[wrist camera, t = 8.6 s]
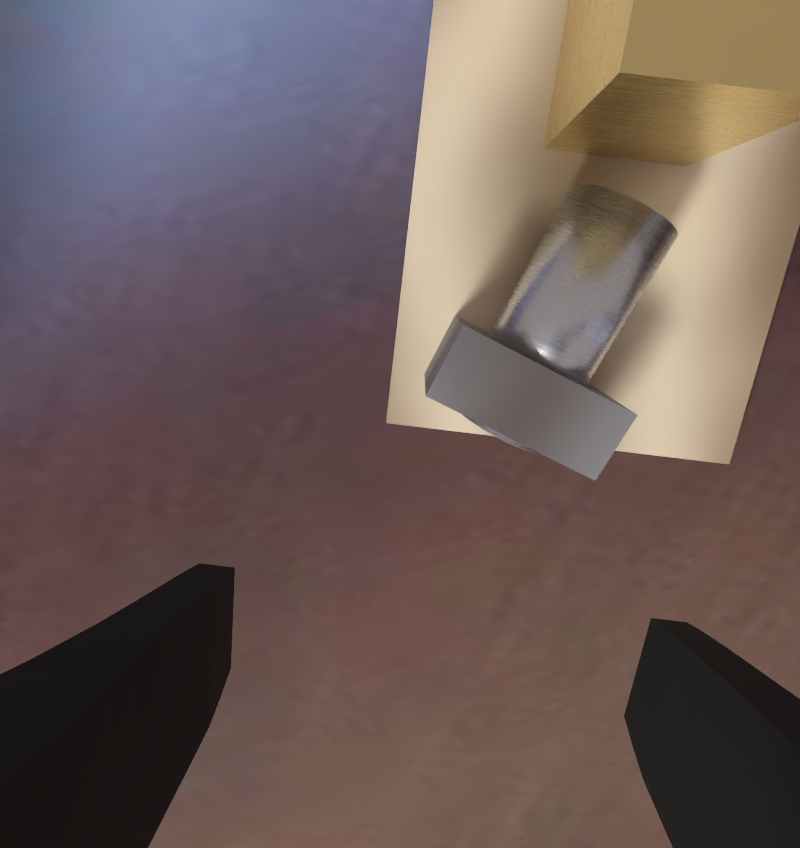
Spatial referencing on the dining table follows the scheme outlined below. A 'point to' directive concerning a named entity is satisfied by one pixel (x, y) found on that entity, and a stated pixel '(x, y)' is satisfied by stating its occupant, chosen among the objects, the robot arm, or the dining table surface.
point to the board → (524, 229)
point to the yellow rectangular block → (674, 77)
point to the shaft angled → (583, 283)
